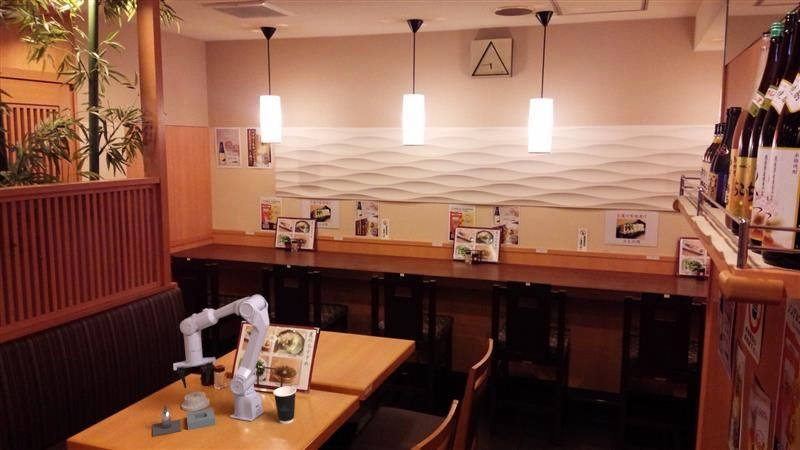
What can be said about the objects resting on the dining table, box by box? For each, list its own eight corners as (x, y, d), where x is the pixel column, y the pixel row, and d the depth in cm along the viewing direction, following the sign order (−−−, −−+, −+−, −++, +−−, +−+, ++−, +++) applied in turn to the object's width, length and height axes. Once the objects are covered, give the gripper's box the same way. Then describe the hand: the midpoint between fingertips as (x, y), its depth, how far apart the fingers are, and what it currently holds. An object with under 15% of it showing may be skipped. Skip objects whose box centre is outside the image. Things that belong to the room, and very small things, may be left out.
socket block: (213, 414, 215) (212, 407, 214) (215, 424, 206) (214, 418, 206) (187, 419, 211) (186, 412, 211) (188, 430, 203) (187, 423, 203)
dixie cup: (292, 413, 213) (290, 384, 212) (301, 421, 207) (300, 391, 205) (271, 420, 209) (269, 390, 207) (280, 428, 202) (278, 397, 201)
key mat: (180, 420, 211) (180, 419, 211) (181, 431, 202) (180, 429, 202) (153, 425, 207) (153, 424, 207) (152, 437, 199) (152, 435, 199)
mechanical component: (176, 411, 219) (200, 412, 217) (175, 399, 219) (199, 401, 217) (191, 400, 229) (214, 401, 227) (190, 389, 228) (213, 390, 226)
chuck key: (171, 422, 208) (169, 404, 207) (171, 429, 203) (170, 410, 202) (162, 424, 207) (160, 406, 206) (162, 431, 202) (160, 412, 201)
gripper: (213, 343, 220) (216, 378, 222) (172, 349, 215) (175, 384, 217) (215, 348, 214) (217, 384, 215) (172, 355, 208) (175, 391, 210)
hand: (196, 385), depth 216 cm, fingers open, 7 cm apart
